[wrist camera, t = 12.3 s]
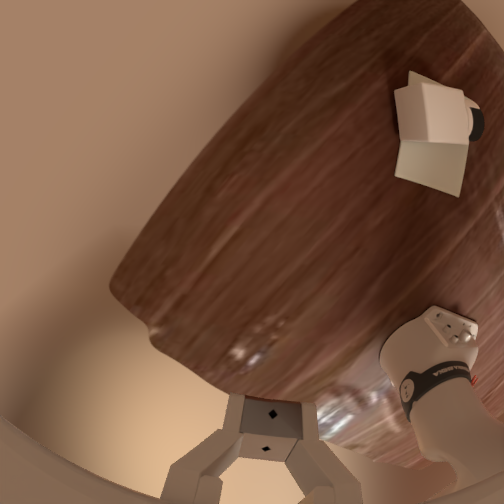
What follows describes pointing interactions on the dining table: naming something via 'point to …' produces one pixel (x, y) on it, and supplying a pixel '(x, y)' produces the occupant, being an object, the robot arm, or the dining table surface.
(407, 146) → the mat
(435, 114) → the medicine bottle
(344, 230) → the dining table surface
